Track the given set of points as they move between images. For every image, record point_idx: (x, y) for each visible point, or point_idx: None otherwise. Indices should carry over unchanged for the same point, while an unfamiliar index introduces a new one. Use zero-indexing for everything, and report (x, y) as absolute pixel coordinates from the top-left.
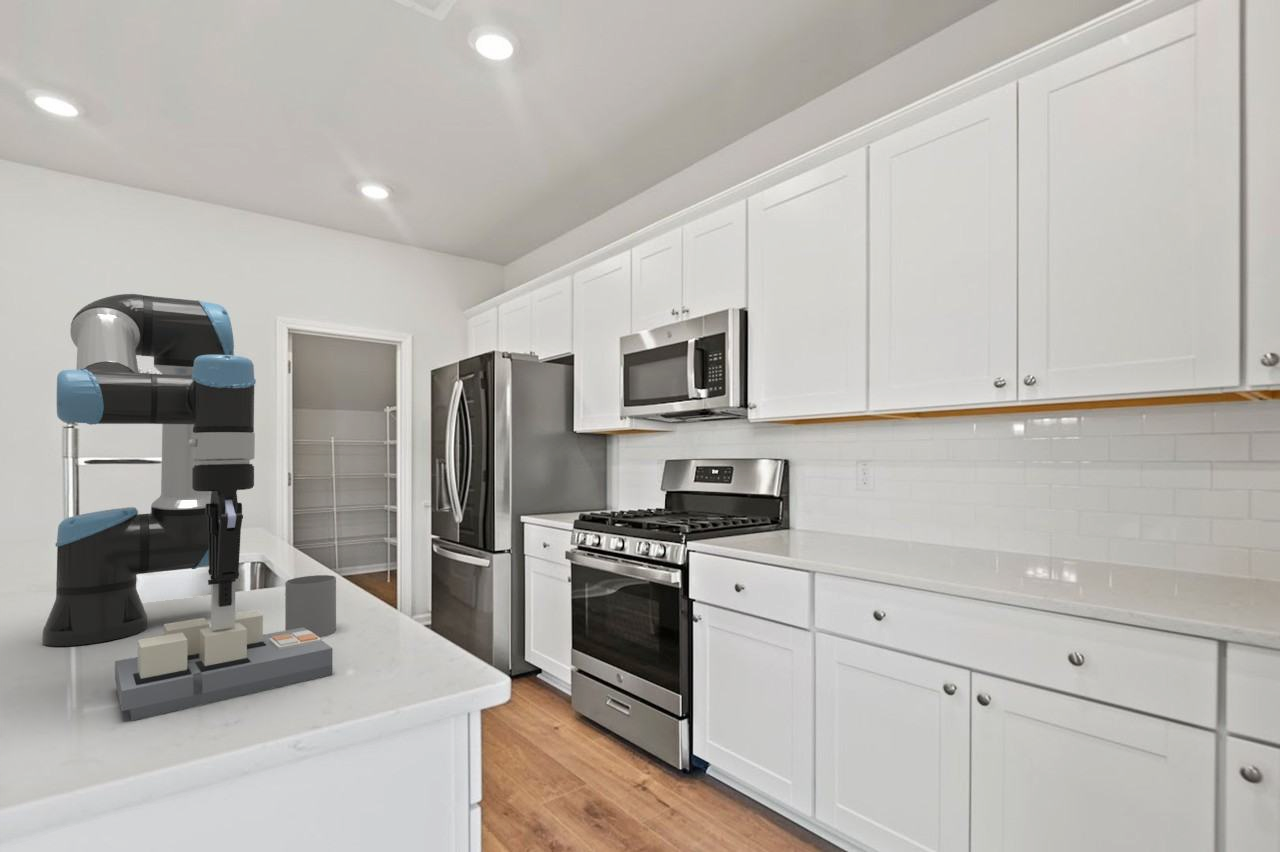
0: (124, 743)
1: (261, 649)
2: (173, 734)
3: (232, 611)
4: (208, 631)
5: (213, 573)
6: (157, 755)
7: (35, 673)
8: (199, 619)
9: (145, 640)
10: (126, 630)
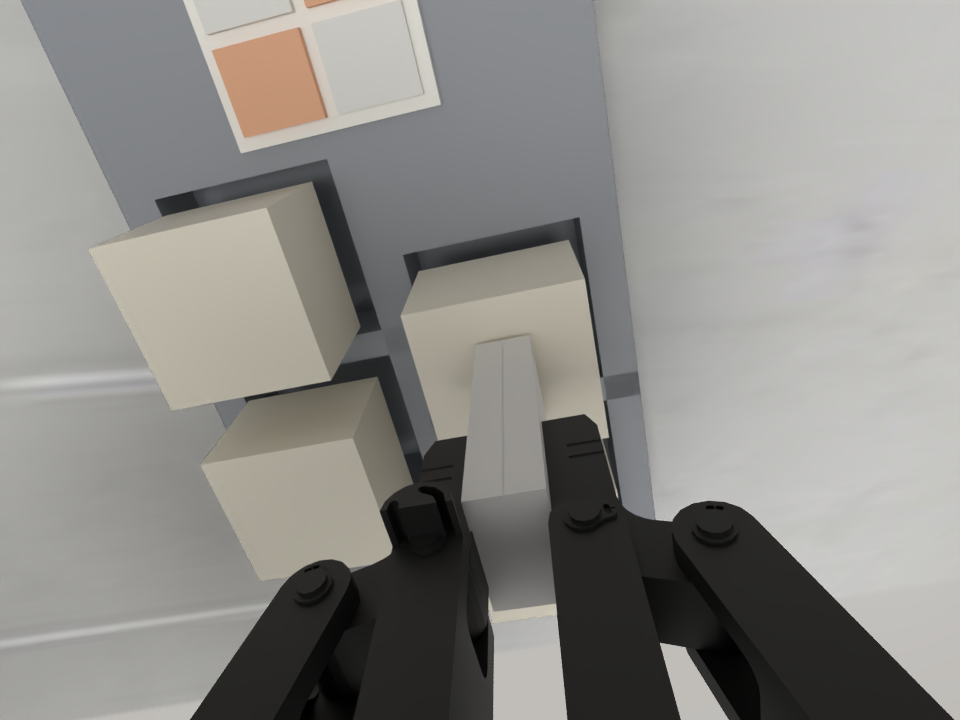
0: (798, 461)
1: (391, 182)
2: (824, 373)
3: (536, 386)
4: None
5: (491, 663)
6: (952, 390)
7: (105, 684)
8: (230, 478)
9: None
10: None
